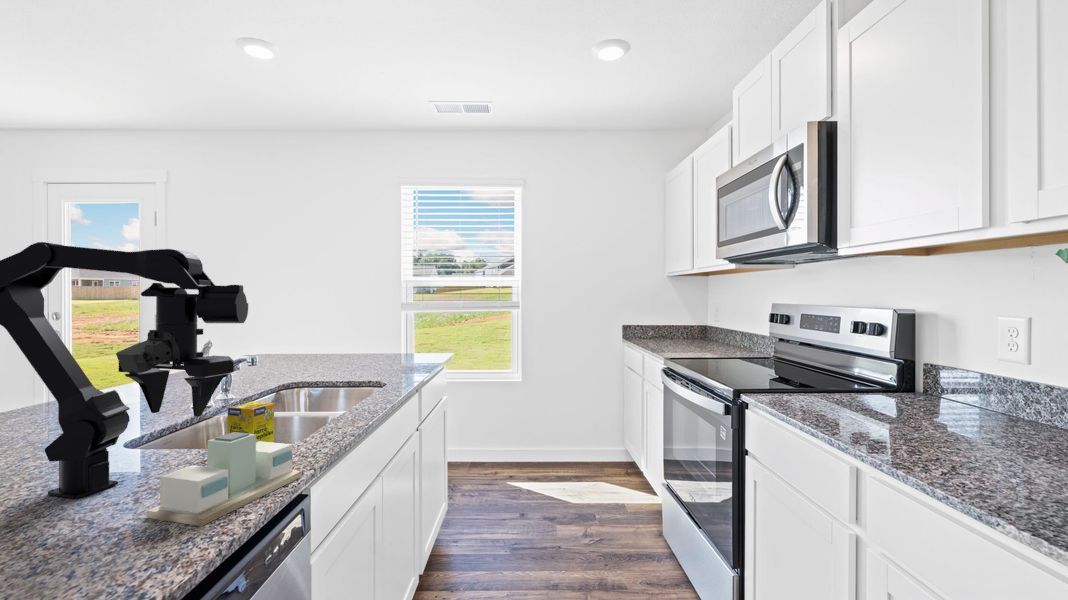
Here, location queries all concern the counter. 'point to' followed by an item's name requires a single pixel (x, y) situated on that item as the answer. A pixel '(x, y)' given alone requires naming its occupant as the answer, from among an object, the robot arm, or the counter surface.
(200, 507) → the mounted modules
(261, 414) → the supplement box
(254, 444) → the loose module
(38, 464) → the counter surface
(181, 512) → the grey flat piece
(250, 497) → the mounting panel
